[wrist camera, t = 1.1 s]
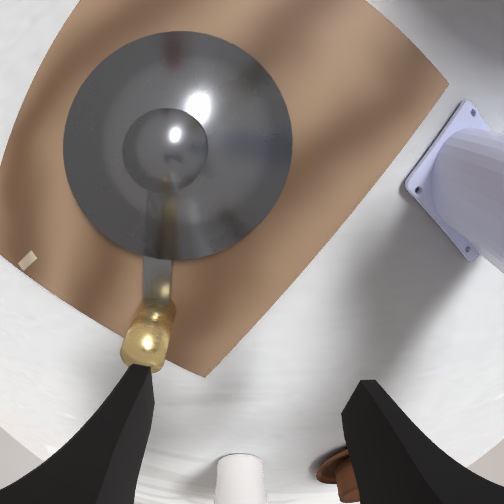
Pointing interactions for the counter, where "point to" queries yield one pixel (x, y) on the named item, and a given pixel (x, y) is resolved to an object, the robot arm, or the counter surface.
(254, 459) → the drinking glass
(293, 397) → the counter surface
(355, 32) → the board
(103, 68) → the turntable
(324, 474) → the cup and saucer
